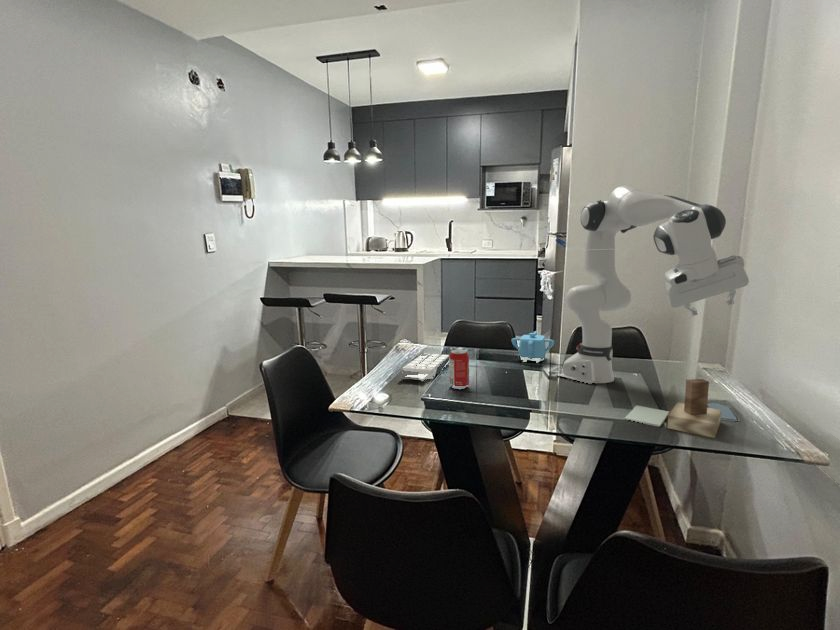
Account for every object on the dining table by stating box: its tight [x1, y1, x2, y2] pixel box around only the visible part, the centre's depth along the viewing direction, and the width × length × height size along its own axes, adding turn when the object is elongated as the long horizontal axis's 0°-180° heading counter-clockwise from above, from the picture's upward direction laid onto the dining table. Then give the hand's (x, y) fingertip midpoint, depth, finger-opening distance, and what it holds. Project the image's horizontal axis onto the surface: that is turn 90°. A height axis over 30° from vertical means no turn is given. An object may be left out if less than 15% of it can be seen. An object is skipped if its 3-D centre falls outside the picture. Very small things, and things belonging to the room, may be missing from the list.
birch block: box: [666, 401, 722, 439], centre depth 137 cm, size 12×14×4 cm
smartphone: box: [707, 402, 740, 422], centre depth 147 cm, size 7×1×15 cm
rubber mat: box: [624, 405, 670, 428], centre depth 145 cm, size 10×14×1 cm
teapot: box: [511, 330, 555, 359], centre depth 219 cm, size 18×16×14 cm
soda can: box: [448, 348, 470, 386], centre depth 178 cm, size 8×8×15 cm
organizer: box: [402, 353, 450, 380], centre depth 202 cm, size 13×5×35 cm
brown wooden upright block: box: [684, 378, 710, 415], centre depth 136 cm, size 5×3×10 cm, turn 91°
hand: (712, 309), depth 131 cm, fingers open, 8 cm apart
